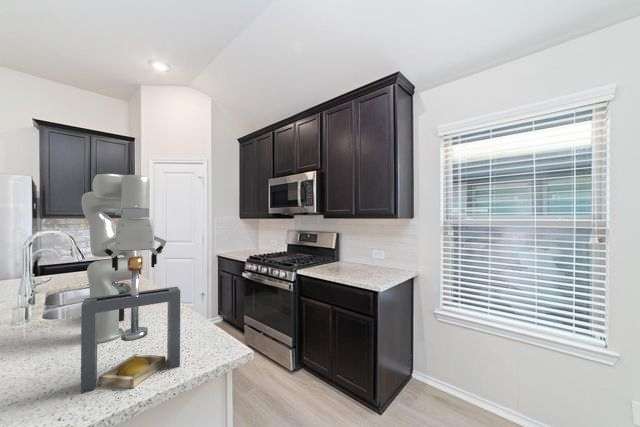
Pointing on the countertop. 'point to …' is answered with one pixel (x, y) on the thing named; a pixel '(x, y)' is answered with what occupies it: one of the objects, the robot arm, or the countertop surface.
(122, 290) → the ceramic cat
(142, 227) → the robot arm
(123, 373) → the bread roll
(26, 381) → the countertop surface
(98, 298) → the frame
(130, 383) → the cradle
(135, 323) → the plunger
